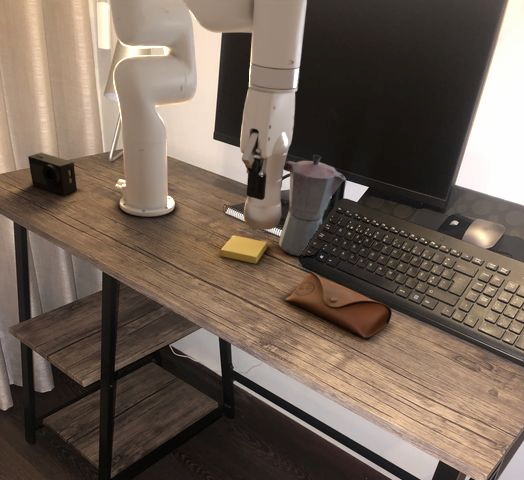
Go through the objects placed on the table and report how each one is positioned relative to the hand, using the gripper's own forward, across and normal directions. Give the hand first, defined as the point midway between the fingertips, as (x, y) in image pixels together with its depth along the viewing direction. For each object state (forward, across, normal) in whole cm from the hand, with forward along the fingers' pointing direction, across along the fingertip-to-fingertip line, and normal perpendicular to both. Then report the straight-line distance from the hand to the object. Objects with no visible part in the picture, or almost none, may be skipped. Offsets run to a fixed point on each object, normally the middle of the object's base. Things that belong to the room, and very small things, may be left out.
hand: (264, 191), depth 96 cm
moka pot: (+18, -18, 0) cm, 25 cm away
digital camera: (+18, -9, -62) cm, 65 cm away
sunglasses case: (+18, +1, +17) cm, 25 cm away
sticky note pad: (+18, -9, -8) cm, 21 cm away
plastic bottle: (+7, 0, 0) cm, 7 cm away
